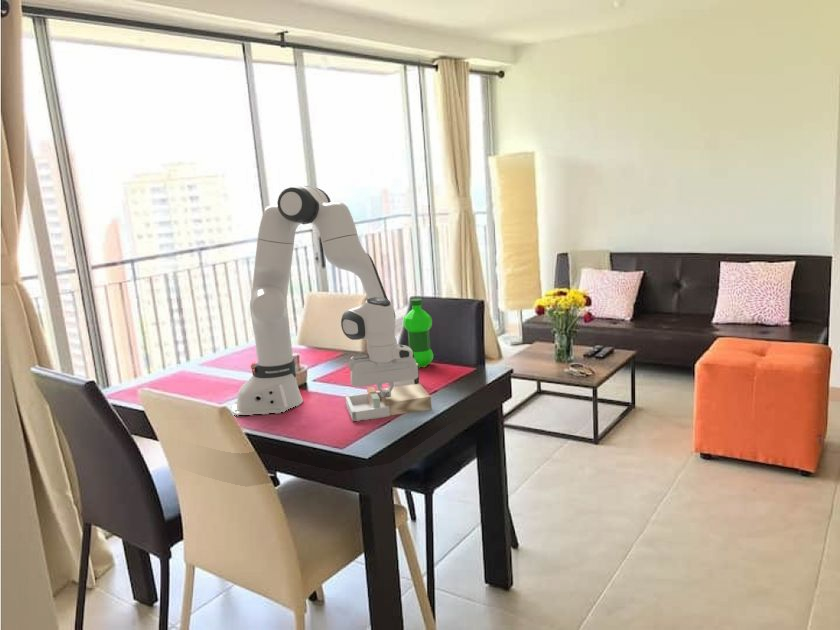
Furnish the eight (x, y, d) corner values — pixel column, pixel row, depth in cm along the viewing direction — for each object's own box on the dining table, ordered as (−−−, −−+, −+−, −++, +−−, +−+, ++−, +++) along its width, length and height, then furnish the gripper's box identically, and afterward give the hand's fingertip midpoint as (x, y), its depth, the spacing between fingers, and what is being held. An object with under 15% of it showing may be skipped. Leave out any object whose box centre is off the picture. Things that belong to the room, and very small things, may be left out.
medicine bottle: (415, 389, 220) (412, 354, 217) (394, 389, 221) (391, 355, 219) (419, 383, 227) (417, 349, 224) (399, 383, 228) (396, 349, 226)
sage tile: (380, 414, 198) (373, 415, 198) (377, 409, 203) (371, 409, 202) (379, 398, 197) (373, 399, 197) (376, 393, 202) (370, 394, 201)
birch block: (389, 415, 198) (388, 402, 197) (380, 401, 211) (379, 389, 210) (431, 409, 201) (430, 396, 200) (420, 395, 214) (419, 383, 213)
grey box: (353, 422, 195) (352, 412, 194) (346, 404, 210) (345, 395, 209) (389, 416, 197) (389, 407, 196) (380, 400, 212) (379, 391, 212)
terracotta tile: (377, 406, 205) (371, 407, 205) (374, 401, 210) (368, 402, 209) (376, 391, 204) (369, 392, 203) (373, 386, 209) (366, 387, 208)
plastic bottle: (430, 360, 253) (426, 295, 248) (437, 367, 243) (432, 300, 238) (404, 363, 251) (400, 298, 246) (410, 371, 241) (405, 303, 236)
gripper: (349, 359, 192) (353, 404, 195) (417, 350, 197) (421, 395, 199) (346, 354, 198) (350, 398, 201) (413, 345, 203) (416, 389, 205)
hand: (386, 396), depth 200 cm, fingers closed
